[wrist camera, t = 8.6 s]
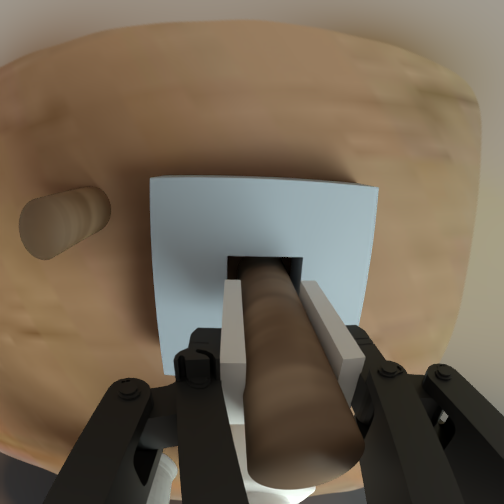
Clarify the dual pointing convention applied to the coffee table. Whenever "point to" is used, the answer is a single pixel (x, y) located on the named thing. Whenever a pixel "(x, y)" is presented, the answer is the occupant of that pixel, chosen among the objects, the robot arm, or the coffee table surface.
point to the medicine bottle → (260, 497)
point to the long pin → (290, 388)
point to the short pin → (62, 220)
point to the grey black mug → (162, 481)
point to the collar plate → (253, 243)
